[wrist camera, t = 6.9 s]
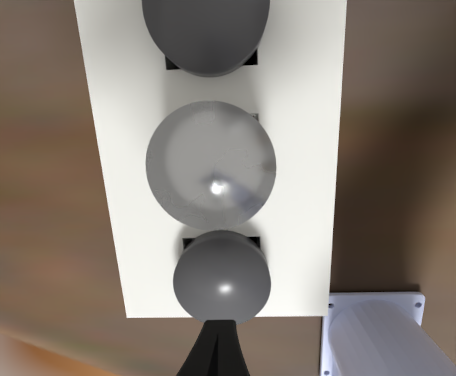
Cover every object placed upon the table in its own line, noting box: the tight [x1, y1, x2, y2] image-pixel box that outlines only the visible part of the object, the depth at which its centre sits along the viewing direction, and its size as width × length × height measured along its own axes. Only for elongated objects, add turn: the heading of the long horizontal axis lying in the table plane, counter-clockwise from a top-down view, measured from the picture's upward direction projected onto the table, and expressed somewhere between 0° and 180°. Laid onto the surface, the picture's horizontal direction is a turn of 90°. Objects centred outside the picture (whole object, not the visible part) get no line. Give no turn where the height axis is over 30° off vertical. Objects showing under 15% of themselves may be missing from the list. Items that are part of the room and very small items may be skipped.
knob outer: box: [142, 0, 270, 77], centre depth 14 cm, size 6×6×5 cm
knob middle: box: [145, 101, 277, 231], centre depth 14 cm, size 6×6×5 cm
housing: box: [74, 0, 347, 318], centre depth 17 cm, size 22×14×4 cm, turn 3°
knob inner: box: [173, 230, 271, 325], centre depth 18 cm, size 6×6×5 cm
